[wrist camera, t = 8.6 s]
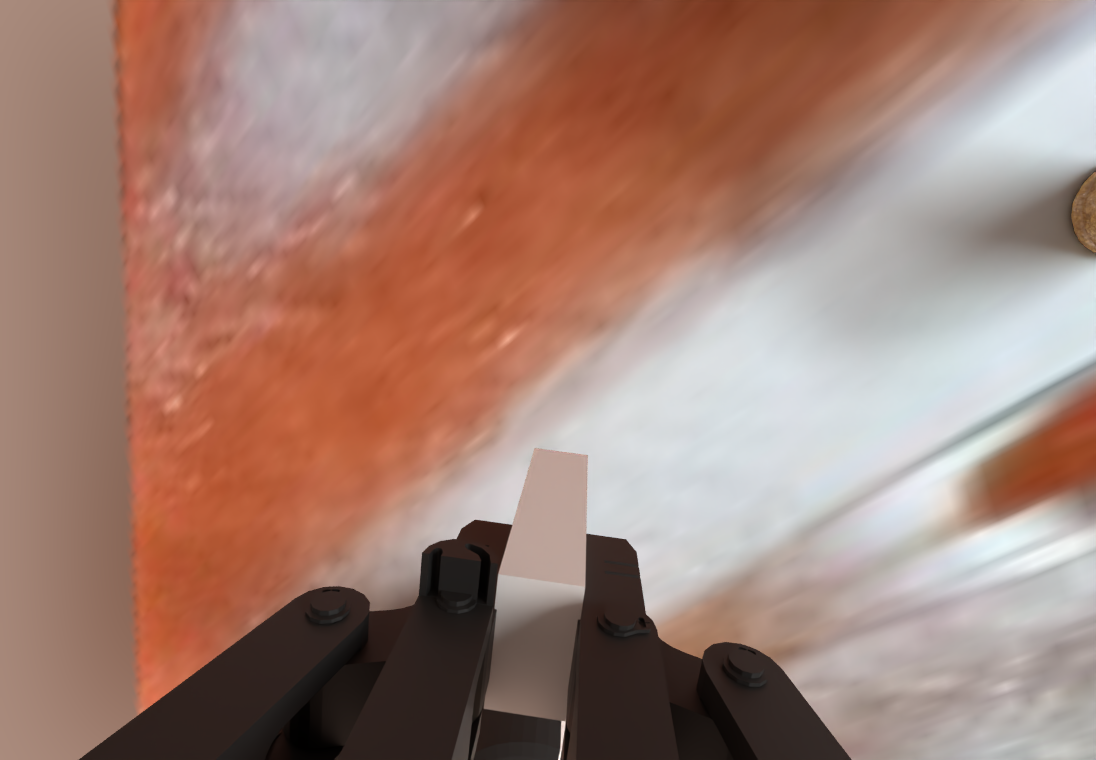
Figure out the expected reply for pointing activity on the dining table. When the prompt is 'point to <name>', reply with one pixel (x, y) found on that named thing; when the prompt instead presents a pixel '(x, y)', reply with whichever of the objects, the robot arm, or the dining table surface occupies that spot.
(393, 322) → the dining table surface
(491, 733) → the container
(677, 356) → the dining table surface
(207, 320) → the dining table surface
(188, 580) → the dining table surface
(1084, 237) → the sprinkles bottle
